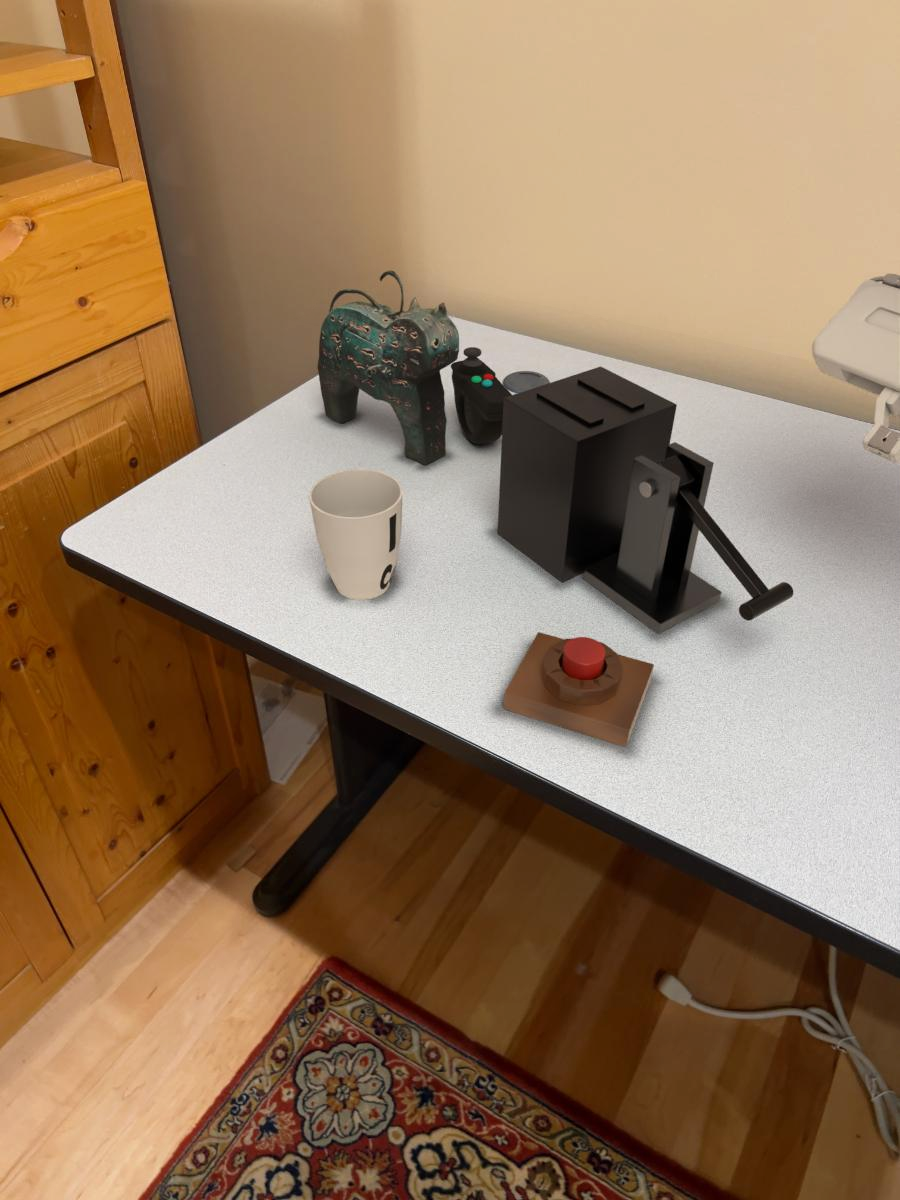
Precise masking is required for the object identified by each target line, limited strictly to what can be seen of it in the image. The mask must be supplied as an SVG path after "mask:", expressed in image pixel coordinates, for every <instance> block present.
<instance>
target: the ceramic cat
mask: <svg viewBox="0 0 900 1200" xmlns="http://www.w3.org/2000/svg"><path fill="white" fill-rule="evenodd" d="M387 276H391V277H393V278H394V279H395V280H396V282H397V284H398V286H399V288H400V294H401V295H400V296H401V297H400V298H401V300H400V308H399V311H396V310H394V309H392V308H390V307H389V306H387V305H385V304H382V303H378V302H377V301H376V300H375V299H374V298H373V297H372V296H371V295H369V294H367V293H366V292H365V291H364V290H360V289H355V288H354V289H353V288H345V289H342V290H338V291H337V293H335V295H334V296H333V297H332V300H331V302H330V306H329V309H328V314H327V315H326V317H325V318H324V320H323V322H322V324H321V326H320V332H319V333H320V334H319V340H318V341H319V342H318V361H317V373H318V381H319V385H320V394H321V399H322V401H323V408H324V411H325V416H326V417H327V418H329V420H332V421H333V422H335V423H338V424H342V425H343V424H345V423H346V422H349V421H352V420H354V419H355V418H356V417H357V410H358V409H357V408H358V401H359V400H358V399H359V394H360V391H362V392H363V393H364V394H367V395H368V396H369V397H371V398H373V399H374V400H377V401H383V402H385V403H388V404H389V405H390V407H391V408H392V410H393V412H394V413H395V416H396V417H397V420H398V422H399V424H400V426H401V428H402V433H403V438H404V455H405V458H408V459H410V460H414V461H416V462H418V463H419V464H421V465H423V466H427V465H430V464H432V463H434V462H435V461H438V460H439V459H441V458H442V457H444V456H446V431H447V423H448V420H447V413H446V410H445V409H446V408H445V407H446V406H445V405H446V402H445V389H444V385H443V382H442V381H443V380H442V375H441V370H443V369H445V368H446V367H448V366H451V364H452V363H454V362H457V360H458V357H459V353H460V334H459V331H458V328H457V326H456V325H455V324H454V321H452V319H451V318H450V316H449V315H448V310H447V307H446V305H445V302H441V303H439V304H438V305H437V306H436V307H435V308H429V307H428V308H427V307H426V308H422V307H420V305H419V302H418V301H417V298H416V296H414V297H413V298H412V300H411V301H410V303H409V308H408V310H407V311H405V310H404V304H405V303H404V300H405V299H404V287H403V283H402V280H401V278H400V277H399V275H398V274H397V272H395V271H394V270H387V271H384V272H383V273H382V274H381V275H380V277H379V281H380V282H382V281H383V279H385V278H386V277H387ZM345 294H357V295H360V296H362V297H364V298H365V299H367V300H368V301H369V302H366V301H360V300H359V301H358V300H357V301H351V302H348V303H346V304H343V305H341V306H338V307H337V306H336V307H335V308H334V306H335V303H336V302H337V301H338V300H339V298H340V297H341V296H343V295H345Z"/></svg>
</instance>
